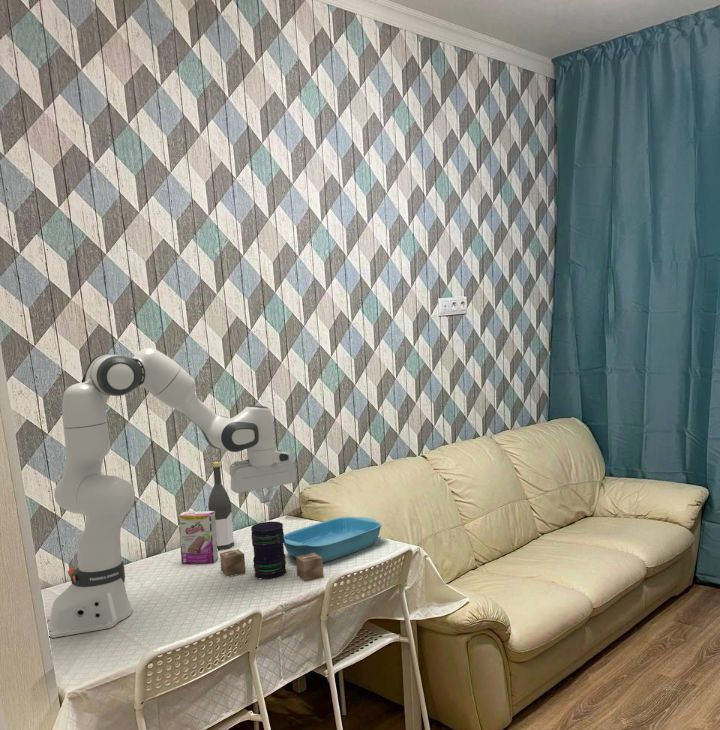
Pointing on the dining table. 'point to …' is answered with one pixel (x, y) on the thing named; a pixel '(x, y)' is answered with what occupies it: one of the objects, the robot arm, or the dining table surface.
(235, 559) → the walnut block seven
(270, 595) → the dining table surface
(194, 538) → the candy bar box
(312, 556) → the walnut block one
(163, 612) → the dining table surface
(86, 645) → the dining table surface
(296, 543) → the casserole dish
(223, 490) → the wine bottle
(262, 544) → the dark blue rusty barrel
